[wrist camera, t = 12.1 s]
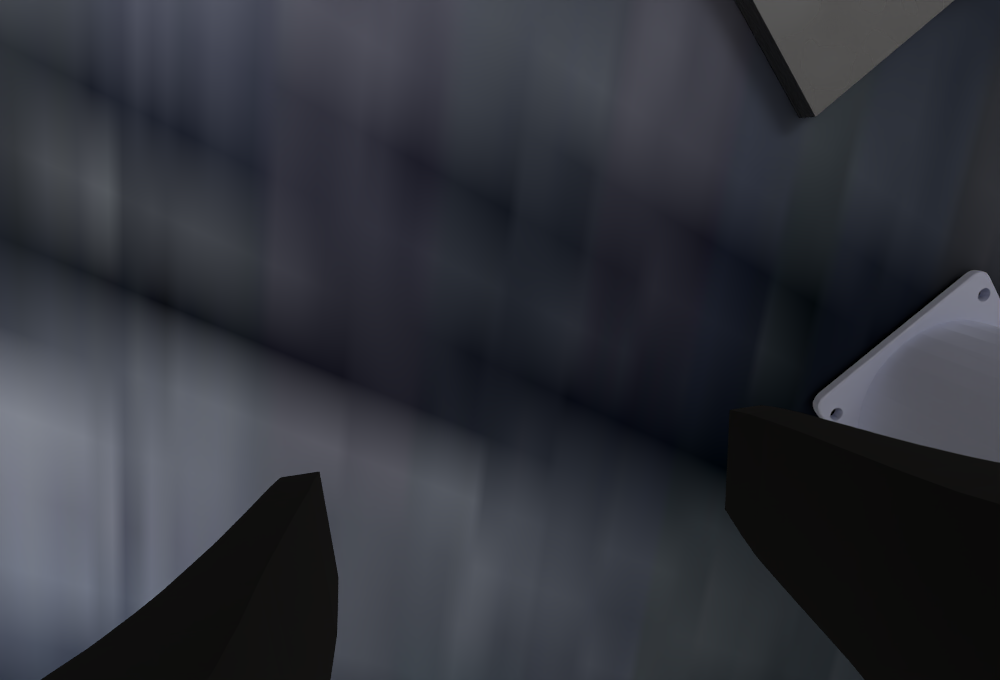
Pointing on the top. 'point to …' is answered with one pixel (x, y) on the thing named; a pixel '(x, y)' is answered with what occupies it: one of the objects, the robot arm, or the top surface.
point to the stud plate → (831, 41)
